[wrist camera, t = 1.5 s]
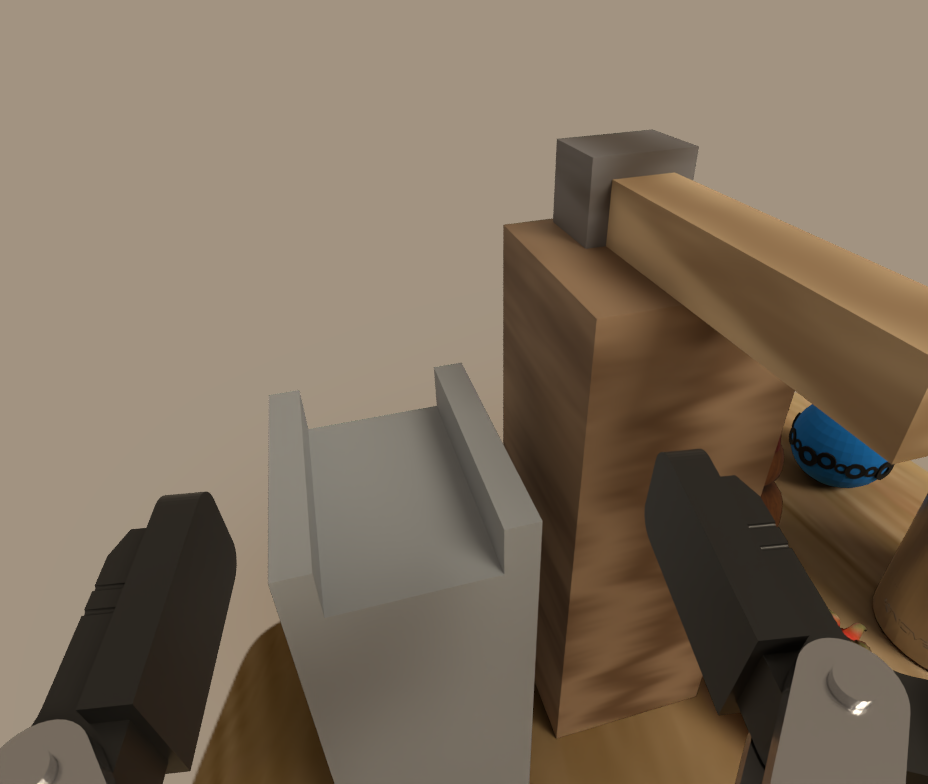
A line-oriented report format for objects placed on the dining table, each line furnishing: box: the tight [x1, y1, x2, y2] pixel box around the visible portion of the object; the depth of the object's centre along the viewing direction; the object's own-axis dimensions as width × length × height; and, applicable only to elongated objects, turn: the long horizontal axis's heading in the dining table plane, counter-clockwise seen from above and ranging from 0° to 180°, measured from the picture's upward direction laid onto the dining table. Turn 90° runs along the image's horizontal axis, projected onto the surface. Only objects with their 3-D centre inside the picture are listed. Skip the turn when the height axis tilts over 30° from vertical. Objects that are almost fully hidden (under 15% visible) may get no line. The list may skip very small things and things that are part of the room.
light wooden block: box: [553, 130, 928, 464], centre depth 22 cm, size 5×20×4 cm, turn 15°
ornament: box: [789, 404, 895, 488], centre depth 55 cm, size 9×9×10 cm
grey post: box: [268, 363, 543, 784], centre depth 33 cm, size 10×12×24 cm
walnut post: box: [503, 219, 795, 738], centre depth 36 cm, size 10×11×30 cm
